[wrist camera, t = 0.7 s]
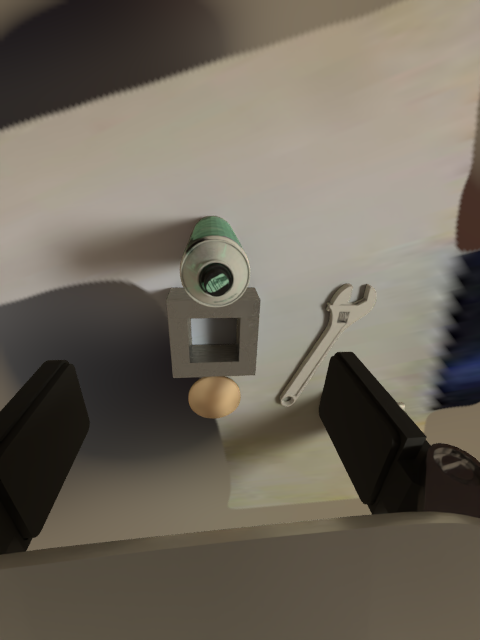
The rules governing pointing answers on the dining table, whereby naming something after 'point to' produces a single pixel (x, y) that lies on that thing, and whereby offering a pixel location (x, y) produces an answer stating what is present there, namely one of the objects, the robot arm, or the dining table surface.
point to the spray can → (214, 264)
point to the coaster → (214, 396)
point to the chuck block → (212, 356)
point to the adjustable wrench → (329, 335)
